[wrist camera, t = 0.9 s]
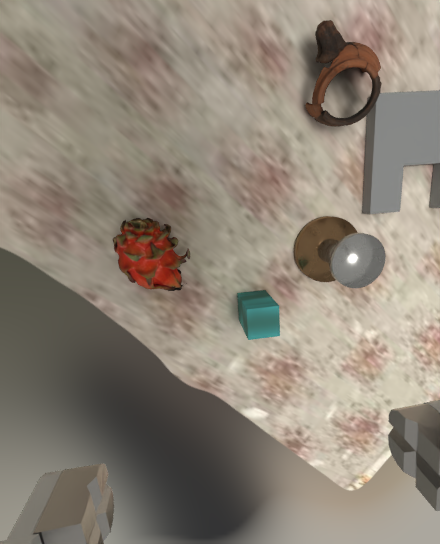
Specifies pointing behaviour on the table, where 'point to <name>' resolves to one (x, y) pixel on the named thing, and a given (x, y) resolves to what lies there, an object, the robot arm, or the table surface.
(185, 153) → the table surface
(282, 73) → the table surface
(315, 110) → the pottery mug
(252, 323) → the block
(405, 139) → the notched board
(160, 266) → the dragon fruit
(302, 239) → the bobbin post
